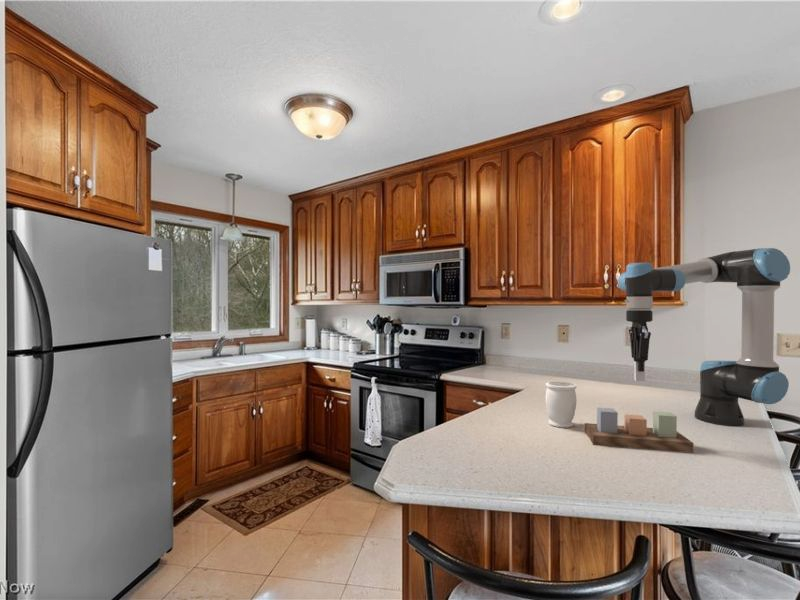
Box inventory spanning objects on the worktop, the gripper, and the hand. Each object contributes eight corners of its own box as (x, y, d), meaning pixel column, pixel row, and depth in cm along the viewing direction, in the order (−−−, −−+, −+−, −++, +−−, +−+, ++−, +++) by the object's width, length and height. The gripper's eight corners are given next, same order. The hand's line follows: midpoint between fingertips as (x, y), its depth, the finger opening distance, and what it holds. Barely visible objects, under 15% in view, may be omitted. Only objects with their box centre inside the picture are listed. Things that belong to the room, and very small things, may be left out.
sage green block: (669, 435, 134) (670, 412, 134) (676, 440, 129) (676, 416, 129) (652, 433, 135) (653, 411, 135) (658, 438, 130) (658, 415, 130)
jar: (543, 426, 149) (543, 384, 149) (547, 418, 159) (547, 380, 158) (574, 430, 144) (575, 388, 144) (577, 423, 154) (577, 383, 154)
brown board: (674, 438, 137) (674, 429, 137) (693, 452, 125) (693, 442, 125) (584, 431, 144) (584, 423, 144) (593, 444, 131) (593, 435, 131)
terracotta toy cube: (640, 438, 136) (641, 415, 136) (646, 443, 131) (646, 419, 131) (624, 436, 137) (624, 414, 137) (629, 441, 132) (629, 418, 132)
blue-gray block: (612, 430, 138) (613, 408, 138) (617, 435, 133) (617, 412, 133) (596, 429, 139) (597, 407, 139) (600, 434, 134) (600, 411, 134)
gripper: (620, 309, 143) (621, 376, 143) (633, 310, 131) (634, 384, 131) (644, 308, 142) (644, 377, 142) (659, 310, 129) (660, 385, 129)
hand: (639, 380), depth 136 cm, fingers closed
